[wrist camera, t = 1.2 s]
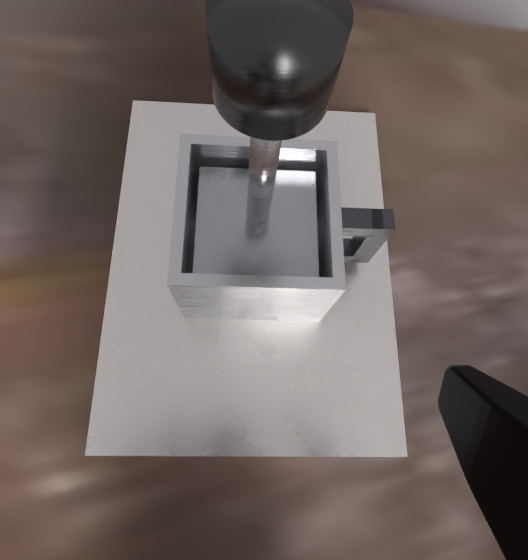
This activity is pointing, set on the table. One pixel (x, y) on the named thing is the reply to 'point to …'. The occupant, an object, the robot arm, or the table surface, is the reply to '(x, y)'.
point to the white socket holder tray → (247, 307)
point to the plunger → (267, 132)
